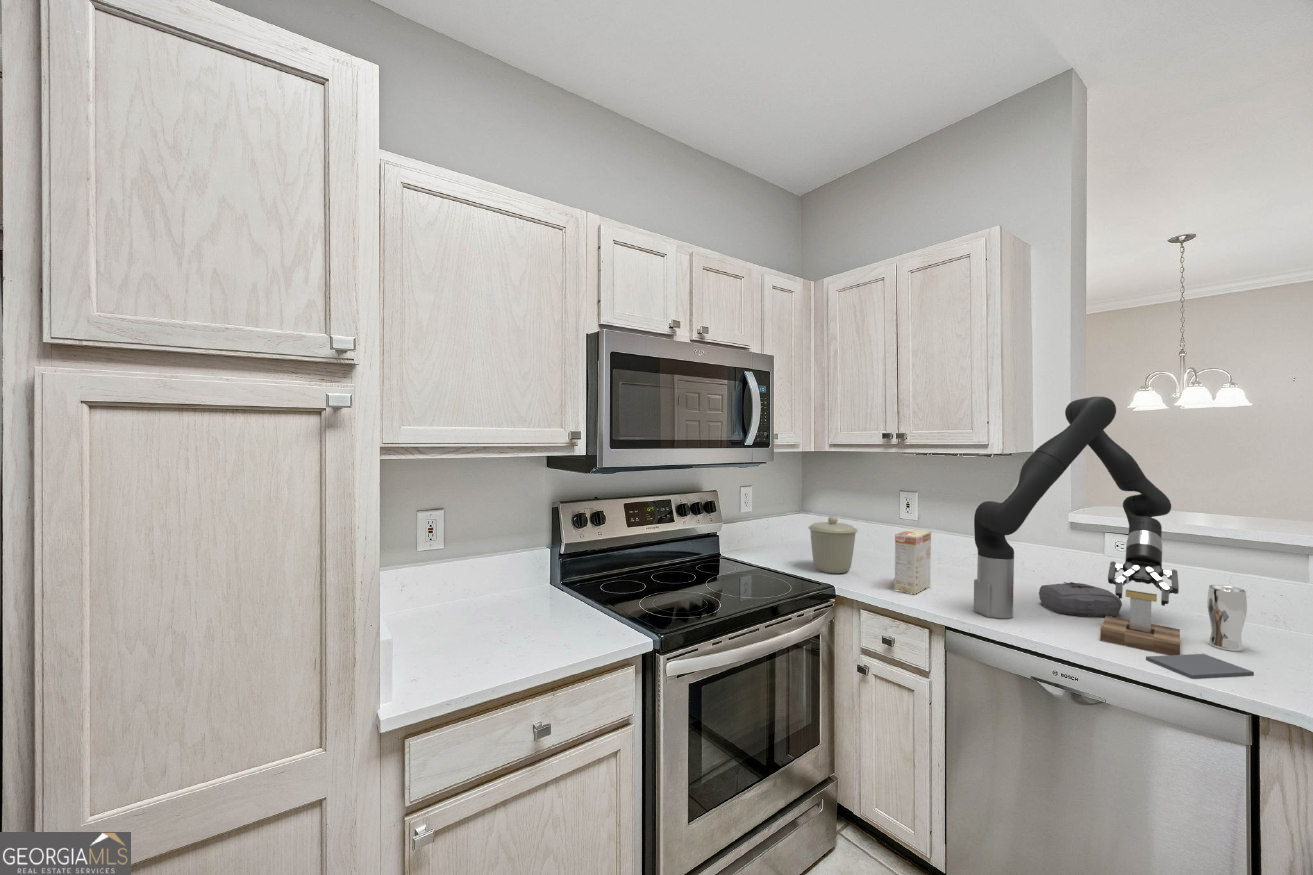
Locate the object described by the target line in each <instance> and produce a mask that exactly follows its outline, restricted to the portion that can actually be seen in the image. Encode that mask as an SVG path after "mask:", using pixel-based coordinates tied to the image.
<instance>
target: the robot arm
mask: <svg viewBox="0 0 1313 875" xmlns="http://www.w3.org/2000/svg"><path fill="white" fill-rule="evenodd" d="M1064 414H1065V418H1066V421H1067V422H1068V423H1069V425H1068V426H1067V427H1066V428H1065V429H1064V430H1062V431H1061V432H1059V433H1058V434H1056V435H1054V436H1053V437H1051V438H1050V439H1048V440H1047V441H1046V442H1043V443H1042V444H1041V445H1040V446H1039V447H1038V448H1036V449H1035V450H1034V451H1033V452H1032V454H1031V455H1030V456H1029V457H1028V458H1027V459H1026V460H1025V462H1024V463H1023V465H1022V467H1021V469H1020V472H1019V477H1018V478H1019V479H1018V483H1017V485H1016V487H1015V488H1014V490H1013V491H1012V493H1010V494H1009V496H1008V497H1007V498H1006V499H1005V500H1004V501H1003V502H999V501H998V502H997V501H993V500H992V501H990V500H989V501H986V500H985V501H983V502H981V503H980V504H979V505H978V506H977V508H976V509H975V512H974V517H973V520H974V521H973V524H974V525H973V527H974V528H973V532H974V543H975V547H976V548H977V572H976V574H977V575H976V576H977V577H976V579H974V580H973V611H974V612H975V613H978V614H980V615H982V616H985V617H986V618H994V619H1006V620H1007V619H1012V618H1013V617H1014V587H1015V586H1014V582H1015V581H1014V580H1015V579H1014V578H1015V577H1014V576H1015V550H1014V547H1012V545H1010V544H1009V542H1008V540H1007V538H1006V536H1009V535H1012V534H1014V533H1016V532H1017V531H1018V530H1019V529H1020V528H1021V526H1022V525H1023V523H1024V522H1025V521H1026V520H1027V518H1028V516H1029V515H1030V513H1031V512H1032V510H1033V508H1035V507H1036V505H1037V503H1038V502H1039V501H1040V500H1041V499H1042V498H1043V497H1044V495H1045V494H1046V493H1047V492H1048V490H1049V489H1050V488H1051V487H1052V486H1053V485H1054V483H1056V482H1057V481H1058V479H1059V478H1060V477H1061V476H1062V475H1063V474H1064V473H1065V472H1066V471H1067V469H1068V468H1069V466H1070V465H1071V464H1072V463H1073V462H1074V461H1075V459H1077V457H1078V456H1079V455H1080V454H1081V452H1082V451H1084V449H1085V448H1086V447H1087V446H1089V448H1090V449H1091V450H1092V451H1093V453H1094V454H1095V455H1096V456H1097V457H1098V458H1099V460H1100V461H1101V463H1102V464H1103V465H1104V467H1105V469H1106V470H1107V472H1108V473H1109V475H1110V476H1111V477H1112V480H1113V481H1114V483H1115V485H1116V487H1117V488H1118V489H1119V490H1120V491H1123V492H1136V493H1139V494H1134V495H1133V494H1132V495H1130V496H1127V497H1126V498H1125V499H1124V500H1123V502H1122V507H1123V511H1124V514H1125V516H1126V519H1127V523H1128V535H1127V540H1126V546H1125V558H1124V559H1125V561H1124V564H1120V563H1117V562H1116V561H1110V563H1109V566H1108V567H1109V568H1108V573H1107V574H1108V575H1107V582H1108V584H1110V585H1112V584H1113V585H1115V587H1114V588H1115V589H1114V590H1115V591H1114V592H1115V594H1114V595H1116V596H1117V597H1118V598H1120V600H1121V599H1123V589H1124V588H1123V587H1124V586H1125V585H1128V584H1130V583H1131V582H1135V583H1143V584H1147V585H1150V584H1153V585H1154V587H1155V588H1157V589H1158V590H1159V591H1161V598H1160V599H1161V600H1160V601H1161V602H1160V603H1161V606H1164V607H1165V606H1166V605H1169V602H1170V594H1174V595H1178V594H1179V593H1180V592H1179V591H1180V590H1179V589H1180V585H1179V577H1178V576H1179V575H1178V570H1177V569H1171V570H1164V569H1163V552H1164V550H1163V542H1162V532H1163V530H1162V529H1163V528H1162V523H1161V522H1160V521H1159V520H1158V519H1156V518H1155V517H1160V516H1162V517H1163V516H1166V515H1168V514H1170V512H1171V509H1172V503H1171V500H1170V499H1169V497H1168V496H1167V495H1166V494H1165V492H1163V491H1161V489H1160V488H1158V487H1157V486H1156V485H1155V484H1154V483H1153V482H1152V481H1150V479H1148V478H1147V477H1146V475H1145V474H1144V472H1143V470H1142V469H1141V467H1140V466H1139V464H1138V462H1137V461H1136V460H1135V458H1134V457H1133V456H1132V455H1131V454H1130V453H1129V452H1128V451H1126V450H1125V449H1124V448H1123V447H1122V446H1120V445H1119V444H1117V443H1116V441H1114V440H1113V439H1112V438H1111V437H1110V436H1109V435H1108V433H1106V431H1105V429H1106V428H1107V427H1108V426H1110V424H1112V422H1113V421H1114V420H1115V417H1116V414H1117V406H1116V403H1115V402H1114V401H1113V400H1112V399H1111V398H1109V397H1106V396H1091V397H1084V398H1080V399H1076V400H1072V401H1071V402H1069V403H1068V404H1067V406H1066V408H1065V410H1064ZM1121 570H1122V572H1123V573H1122V574H1121V575H1120V576H1119V577H1117V578H1116V577H1115V576H1116V573H1119V572H1120V571H1121ZM1164 576H1165V577H1166V578H1167V579H1168V580H1169V581H1171V585H1168V584H1167V583H1165V581H1164V579H1163V577H1164Z"/></svg>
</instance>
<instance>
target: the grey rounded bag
mask: <svg viewBox="0 0 1313 875" xmlns="http://www.w3.org/2000/svg"><path fill="white" fill-rule="evenodd" d="M1038 595H1039V596H1038V598H1039V600H1040V602H1041V604H1042V605H1043V606H1044V607H1046V609H1048V610H1050V611H1052V612H1054V613H1060V614H1064V615H1070V616H1071V615H1072V616H1079V617H1080V616H1081V617H1091V618H1092V617H1096V618H1105V617H1106V616H1112V617H1118V616H1119V614H1120V611H1121V609H1122V606H1123V602H1122V601H1121V598H1119V597H1118V596H1116V594H1114V593H1112V592H1111V591H1110V590H1108V589H1105V588H1102V587H1099V586H1098V587H1097V586H1094V585H1092V584H1086V583H1080V582H1078V583H1077V582H1072V581H1071V582H1066V581H1065V582H1063V583H1055V584H1054V583H1053V584H1045V585H1041V586H1040V588H1039V591H1038Z"/></svg>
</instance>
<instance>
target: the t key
mask: <svg viewBox="0 0 1313 875" xmlns="http://www.w3.org/2000/svg"><path fill="white" fill-rule="evenodd" d="M1125 597H1126V598H1130V600H1129V601H1130V603H1129V604H1130V605H1129V620H1130V630H1133V631H1138V632H1143V633H1149V634H1151V624H1152V602H1155V603H1156V602H1158V601H1157V600H1158V599H1157V597H1158V596H1157V593H1149V592H1144V591H1137V590H1131V589H1125Z"/></svg>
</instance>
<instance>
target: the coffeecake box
mask: <svg viewBox="0 0 1313 875" xmlns="http://www.w3.org/2000/svg"><path fill="white" fill-rule="evenodd" d="M931 550H932V531H929V530H922V529H917V528H910V529H907V530H904V531H902V532H898V533H895V534H894V591H895V590H899V591H902V592H901V593H903V592H908V593H912V594H915V595H917V594H919V593H921V592H922V590H923V591H924V589H925V588H926V589H928V588H930V587H931V569H932V568H931V565H932V564H931V562H932V560H931V559H932V558H931V557H932V556H931V555H932V554H931V553H932V552H931ZM929 586H930V587H929ZM926 589H925V590H926ZM920 591H921V592H920ZM918 592H919V593H918ZM908 593H907V594H908ZM916 593H917V594H916ZM912 594H911V595H912Z"/></svg>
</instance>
